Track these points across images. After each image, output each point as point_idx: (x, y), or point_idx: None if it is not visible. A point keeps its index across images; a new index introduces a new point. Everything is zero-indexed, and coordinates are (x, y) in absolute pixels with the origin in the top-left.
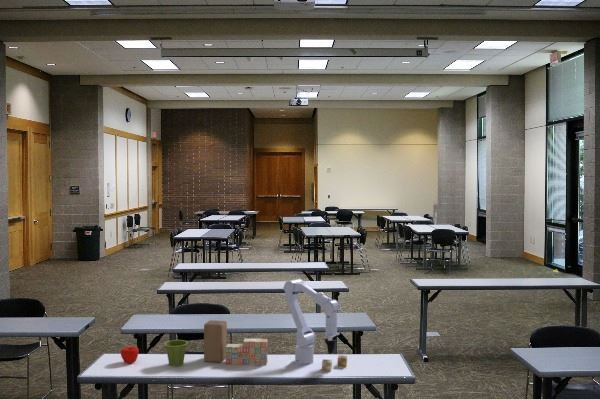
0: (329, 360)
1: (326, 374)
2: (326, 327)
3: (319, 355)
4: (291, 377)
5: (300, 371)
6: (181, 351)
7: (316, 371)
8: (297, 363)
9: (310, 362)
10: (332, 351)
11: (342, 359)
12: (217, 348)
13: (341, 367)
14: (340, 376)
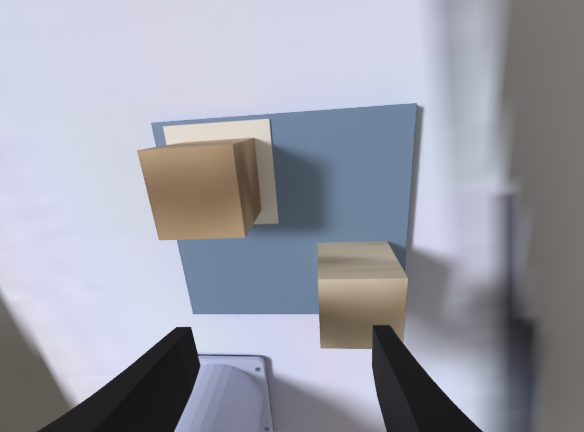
0: (343, 297)
1: (426, 260)
2: None
3: (52, 342)
4: (499, 428)
5: None
6: None
7: None
8: (264, 430)
9: (246, 381)
10: (402, 347)
11: (241, 185)
12: None
13: (273, 176)
14: (468, 154)
